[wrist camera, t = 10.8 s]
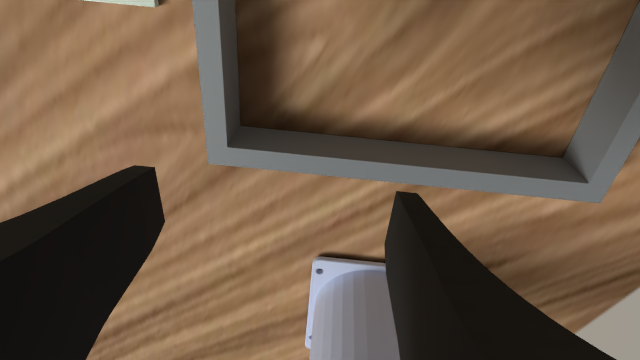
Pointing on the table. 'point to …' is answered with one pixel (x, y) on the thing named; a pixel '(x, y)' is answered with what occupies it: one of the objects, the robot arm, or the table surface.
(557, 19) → the table surface
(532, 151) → the table surface
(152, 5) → the mat
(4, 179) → the table surface
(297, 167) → the gray rectangular frame
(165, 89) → the table surface
